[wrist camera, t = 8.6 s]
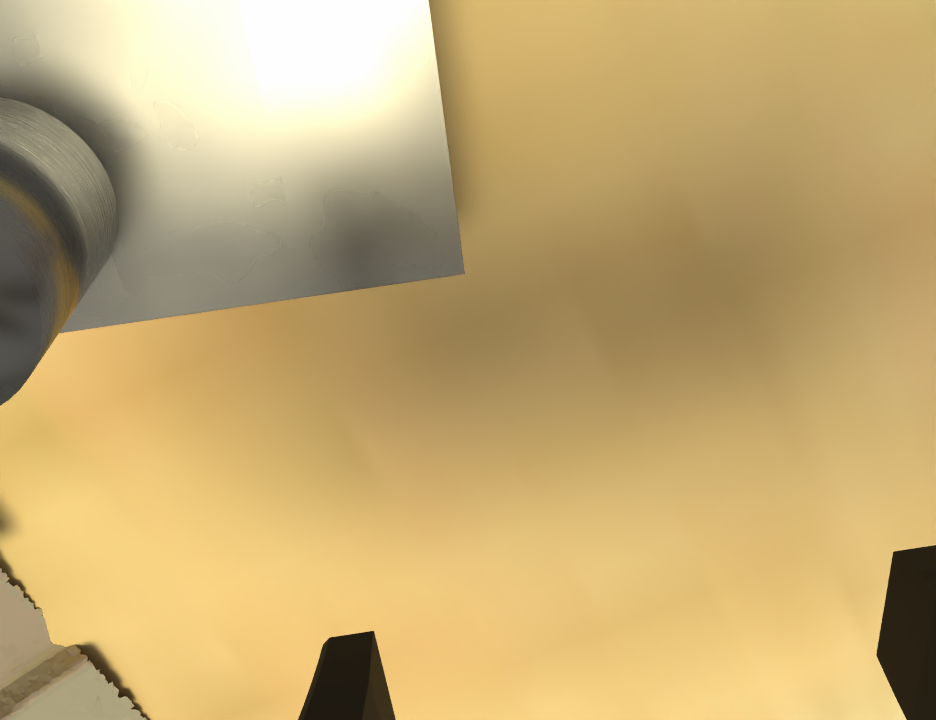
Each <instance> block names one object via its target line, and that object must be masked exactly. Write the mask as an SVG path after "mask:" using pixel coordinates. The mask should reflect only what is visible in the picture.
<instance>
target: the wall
mask: <svg viewBox="0 0 936 720" xmlns="http://www.w3.org/2000/svg"><path fill="white" fill-rule="evenodd" d="M1 572H2V569H1V568H0V720H146V719H145V718H146V717H144V718H143V717H142V716H140V714H142V713H140V711H138V710H135V709H131V708H132V707H134V705H133V704H132V702H131V700H129V698H128V697H125V696H124V697H122V698H119V697H118V693H119V689H117V688H116V687H115V686H114V685H113V682H111V683H109V684H108V682H107V680H105V679H106V678H105V676H104V675H103V674H100V672H99V671H100V670H101V669H100V670H96V669H95V667H94V665H93V663H91V662H90V660H89V661H88V662H87V659H88V657H87V655H84V654H80V652H81V650H80V649H78V648H77V646H76V645H72V646H69V647H64V646H61V645H56V644H53V643H52V642H51V641H50V637H49V633H48V630H47V626H46V623H45V619H44V617H43V616H42V615H41V614H43V612H42V609H39V608H38V609H34V606H33V604H34V603H31V602H30V601H29V599H28V598H24V596H23V593H24V591H21V589H20V587H19V586H18V585H15V586H14V587H13V586H12V585H10V583H9V582H7V581H8V580H9V579H10V578H9V577H7V574H6V573H1ZM6 582H7V583H6Z"/></svg>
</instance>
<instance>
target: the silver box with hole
mask: <svg viewBox="0 0 936 720" xmlns="http://www.w3.org/2000/svg"><path fill="white" fill-rule="evenodd" d="M460 274H465V272H464V264H463V257H462V249H461V242H460V234H459V227H458V219H457V212H456V204H455V197H454V189H453V181H452V174H451V166H450V159H449V151H448V144H447V136H446V129H445V121H444V114H443V106H442V99H441V91H440V84H439V76H438V69H437V61H436V54H435V46H434V39H433V31H432V23H431V16H430V8H429V1H428V0H0V405H2V404H3V403H5V402H6V401H8V400H9V399H10V398H11V397H12V396H13V395H14V394H16V393H17V392H18V391H19V390H20V389H21V387H22V386H23V385H24V383H25V382H26V381H27V379H28V378H29V377H30V375H31V374H32V372H33V371H34V369H35V368H36V366H37V365H38V363H39V362H40V360H41V359H42V357H43V356H44V354H45V353H46V351H47V350H48V348H49V347H50V345H51V344H52V342H53V341H54V339H55V338H56V336H57V335H58V333H64V332H70V331H77V330H84V329H91V328H98V327H105V326H111V325H118V324H125V323H132V322H139V321H146V320H153V319H159V318H166V317H173V316H180V315H187V314H194V313H200V312H207V311H214V310H221V309H228V308H235V307H241V306H248V305H255V304H262V303H269V302H276V301H282V300H289V299H296V298H303V297H310V296H317V295H324V294H330V293H337V292H344V291H351V290H358V289H365V288H371V287H378V286H385V285H392V284H399V283H406V282H412V281H419V280H426V279H433V278H440V277H447V276H453V275H460Z"/></svg>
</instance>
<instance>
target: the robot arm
mask: <svg viewBox="0 0 936 720" xmlns="http://www.w3.org/2000/svg"><path fill="white" fill-rule="evenodd" d="M877 657H878V660H879V662H880V664H881V666H882V668H883V671H884V673H885V675H886V677H887V679H888V682H889V684H890V686H891V688H892V690H893V693H894V695H895V697H896V699H897V701H898V703H899V705H900V707H901V709H902V711H903V713H904V715H905V717H906V719H907V720H936V545H934V546H928V547H921V548H915V549H908V550H901V551H895V552H893V557H892V563H891V569H890V575H889V581H888V588H887V594H886V600H885V606H884V612H883V618H882V624H881V630H880V636H879V642H878V648H877ZM298 720H395V715H394V711H393V707H392V703H391V699H390V695H389V691H388V687H387V683H386V679H385V675H384V670H383V666H382V662H381V658H380V654H379V650H378V646H377V642H376V638H375V634H374V631H370V632H364V633H357V634H351V635H344V636H337V637H331V638H329V639H328V640H327V641H326V642H325V643H324V644H323V647H322V650H321V654H320V658H319V661H318V664H317V668H316V671H315V674H314V677H313V680H312V683H311V686H310V689H309V692H308V695H307V697H306V700H305V703H304V706H303V708H302V711H301V714H300V716H299V719H298Z"/></svg>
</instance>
